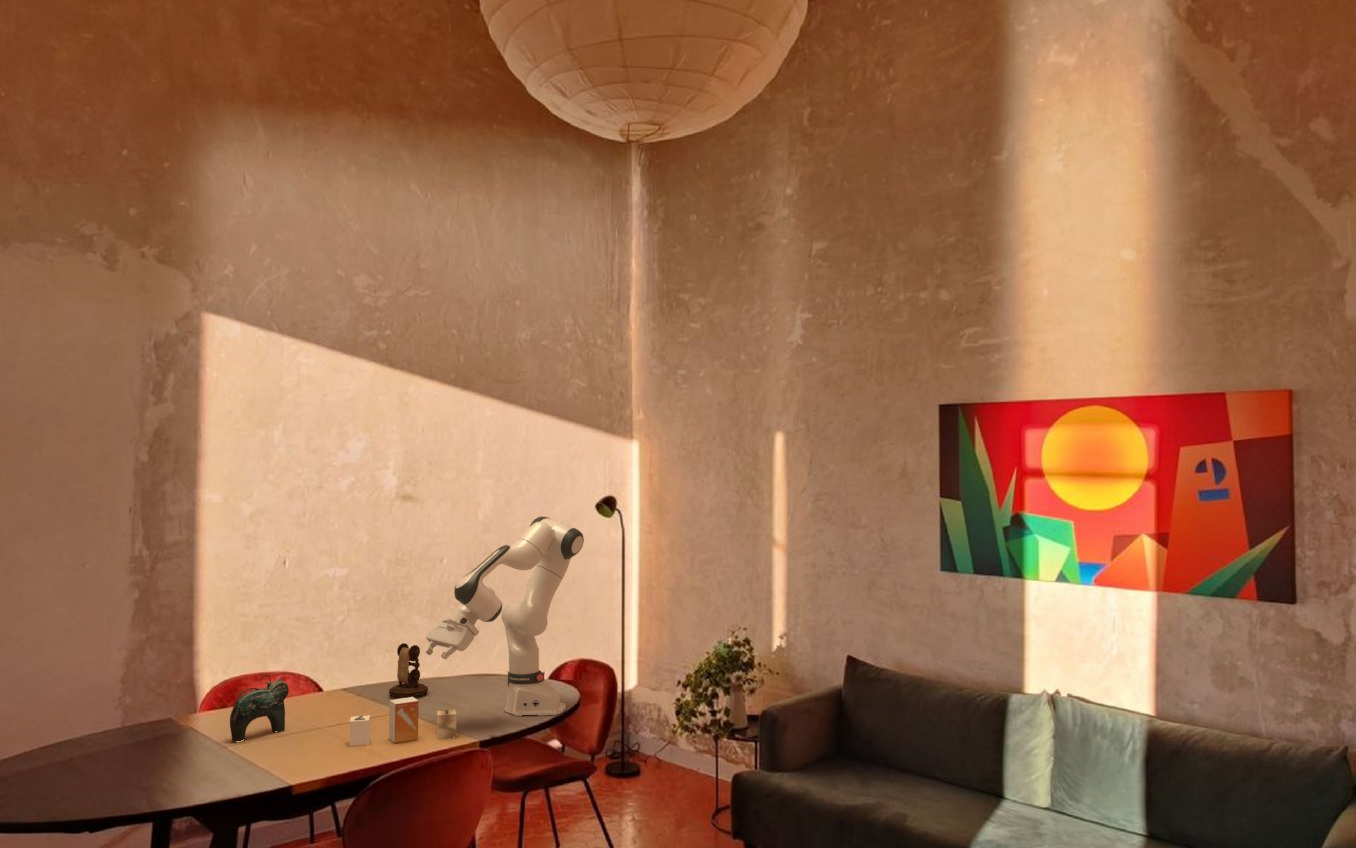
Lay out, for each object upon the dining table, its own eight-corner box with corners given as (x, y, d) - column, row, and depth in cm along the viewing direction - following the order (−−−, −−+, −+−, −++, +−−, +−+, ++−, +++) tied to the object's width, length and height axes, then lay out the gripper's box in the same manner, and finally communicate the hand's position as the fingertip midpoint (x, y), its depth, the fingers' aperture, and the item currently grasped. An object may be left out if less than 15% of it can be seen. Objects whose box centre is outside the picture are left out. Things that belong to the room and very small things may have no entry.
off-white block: (369, 739, 321) (369, 714, 322) (368, 744, 316) (369, 719, 316) (350, 741, 320) (350, 715, 320) (349, 746, 314) (349, 720, 314)
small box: (394, 744, 316) (394, 704, 317) (388, 739, 322) (388, 699, 322) (418, 739, 321) (418, 700, 321) (412, 735, 326) (412, 696, 326)
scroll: (381, 696, 377) (381, 645, 378) (411, 689, 389) (411, 639, 390) (405, 702, 369) (406, 649, 369) (435, 694, 381) (436, 643, 382)
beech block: (455, 733, 328) (455, 708, 329) (456, 738, 323) (456, 713, 323) (437, 734, 327) (437, 710, 327) (437, 739, 321) (437, 714, 321)
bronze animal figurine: (281, 727, 336) (282, 669, 336) (292, 730, 332) (292, 672, 333) (226, 741, 320) (227, 681, 320) (237, 745, 316) (238, 683, 316)
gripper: (437, 614, 343) (413, 646, 336) (471, 621, 330) (447, 654, 322) (447, 625, 347) (423, 656, 339) (482, 633, 333) (458, 666, 325)
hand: (435, 655), depth 331 cm, fingers open, 8 cm apart
